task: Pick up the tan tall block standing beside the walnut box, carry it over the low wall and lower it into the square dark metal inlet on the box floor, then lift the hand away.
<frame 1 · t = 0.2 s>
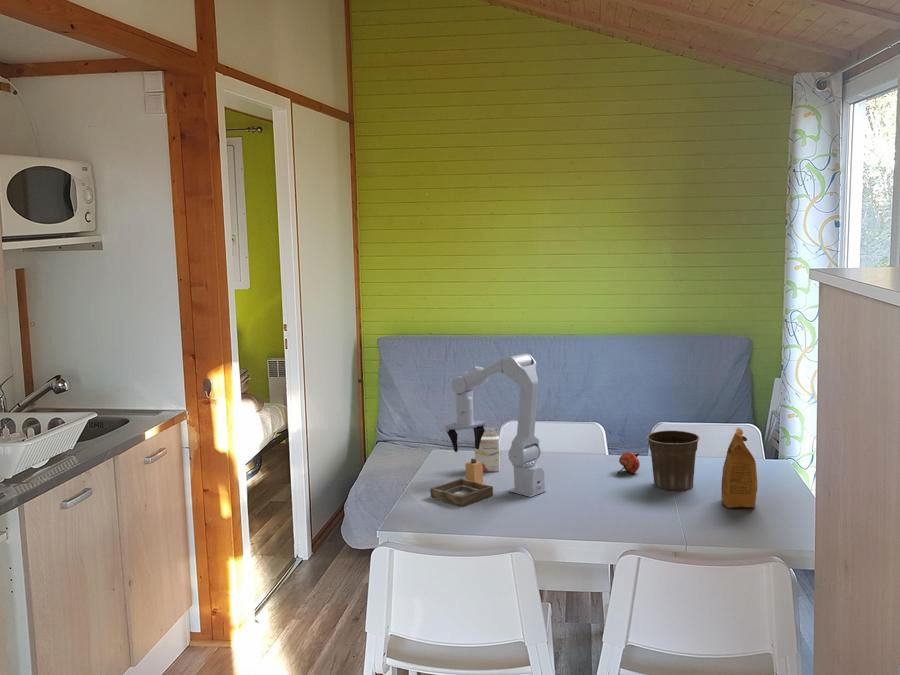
hand: (466, 449, 289), 10 cm above the table, tool pointing down, fingers open, 7 cm apart
plant pot: (673, 486, 273), on the table
ink cartridge box: (488, 470, 299), on the table
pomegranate: (628, 473, 289), on the table
walled box: (461, 496, 270), on the table
coffee package: (738, 503, 254), on the table
tan tall block: (474, 483, 284), on the table
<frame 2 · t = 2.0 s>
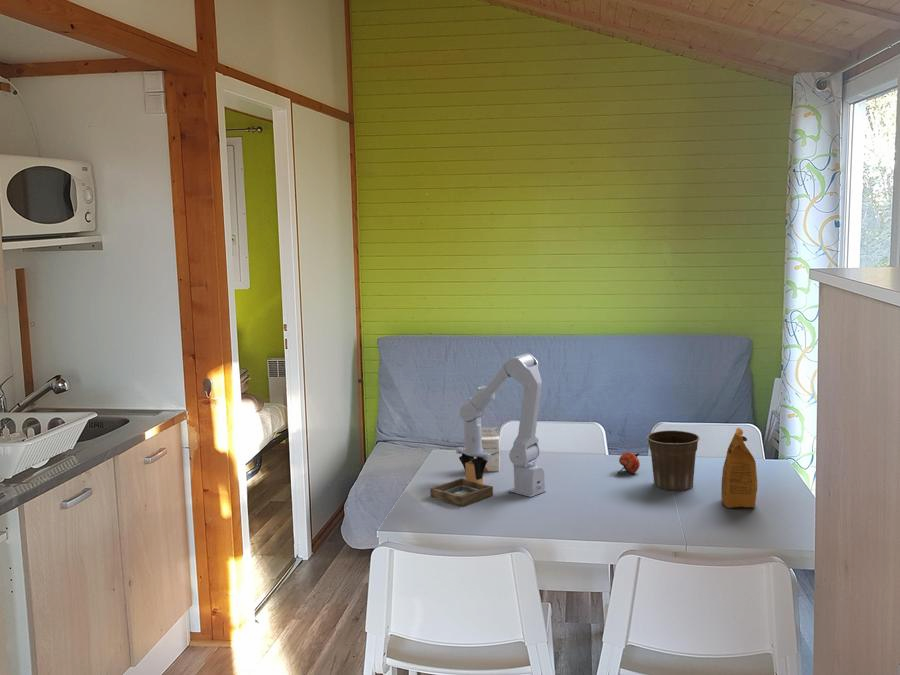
hand: (474, 477, 284), 2 cm above the table, tool pointing down, fingers closed on tan tall block, 4 cm apart
tan tall block: (474, 482, 284), on the table, touching gripper
everything else where it was.
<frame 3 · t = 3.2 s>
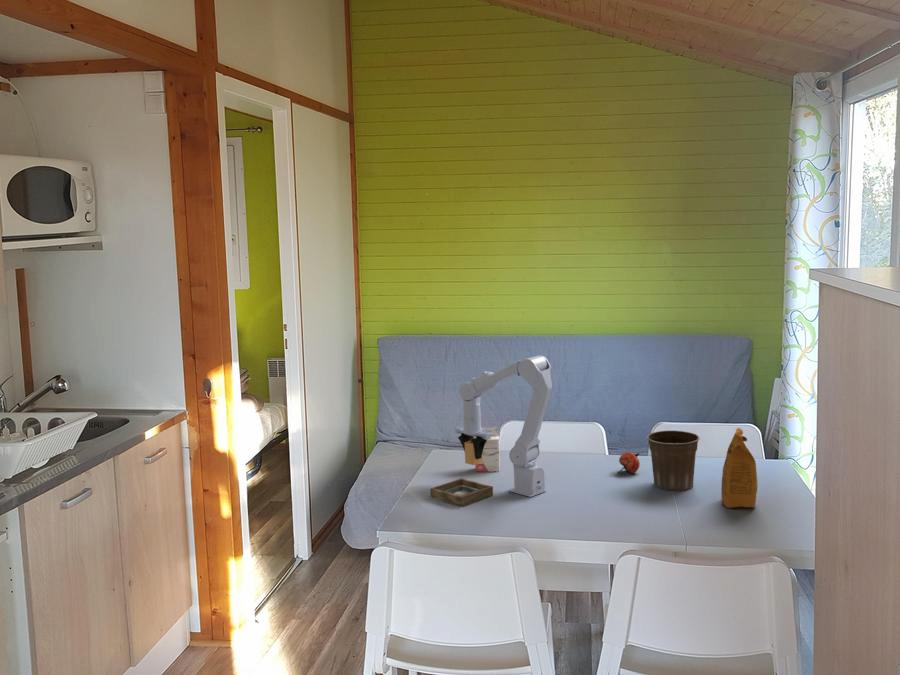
hand: (473, 457, 283), 9 cm above the table, tool pointing down, fingers closed on tan tall block, 4 cm apart
tan tall block: (473, 462, 283), point 7 cm above the table, touching gripper
everything else where it was.
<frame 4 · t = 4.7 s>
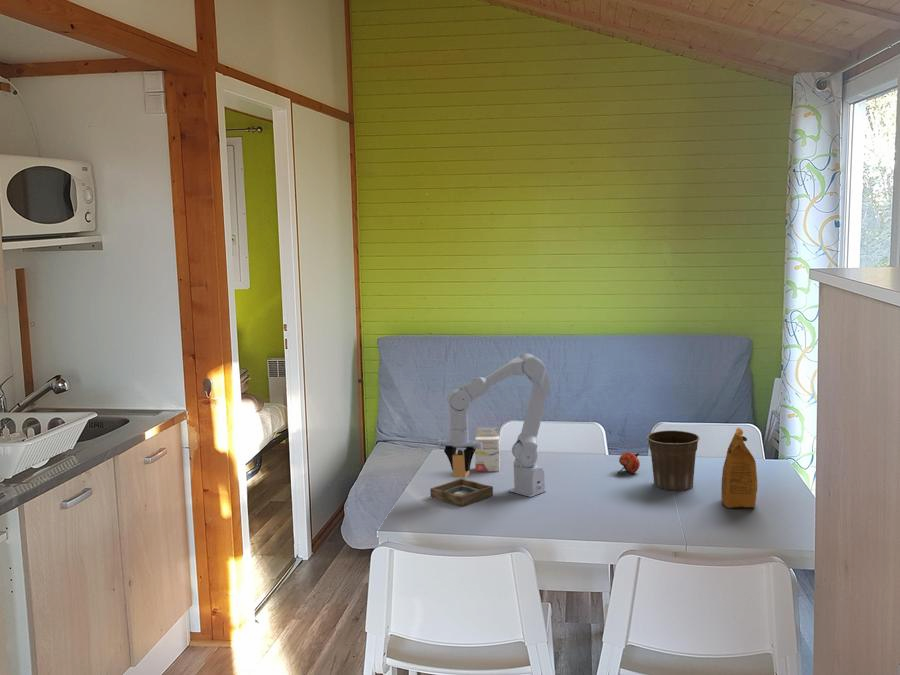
hand: (460, 469, 269), 9 cm above the table, tool pointing down, fingers closed on tan tall block, 4 cm apart
tan tall block: (461, 475, 269), point 7 cm above the table, touching gripper
everything else where it was.
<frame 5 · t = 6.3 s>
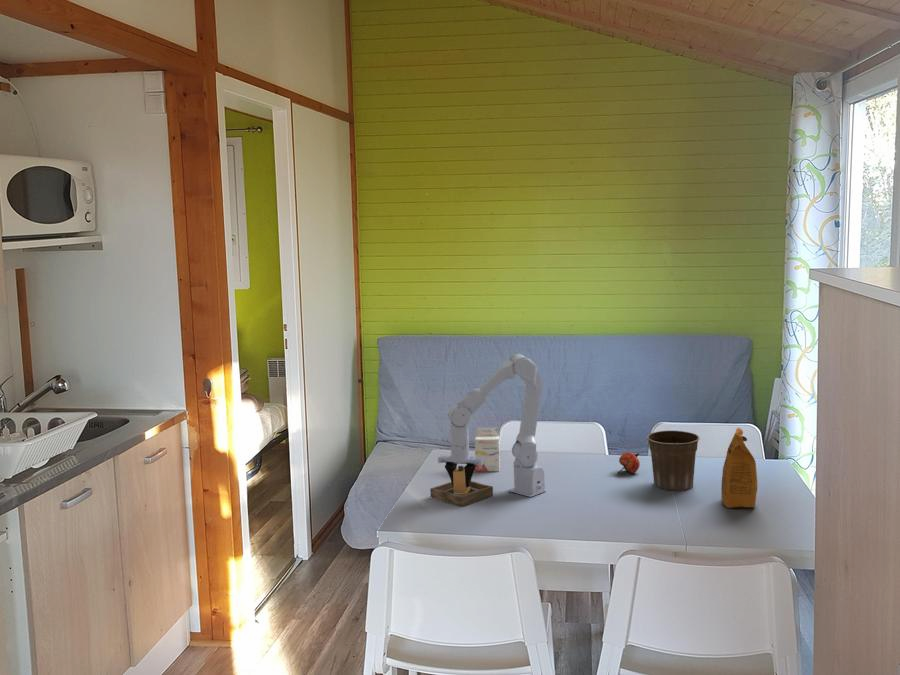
hand: (461, 485, 270), 4 cm above the table, tool pointing down, fingers closed on tan tall block, 4 cm apart
tan tall block: (461, 491, 270), point 2 cm above the table, touching gripper
everything else where it was.
when the fingers open (3 cm above the table, at t = 7.5 s): tan tall block stays where it is, resting on walled box.
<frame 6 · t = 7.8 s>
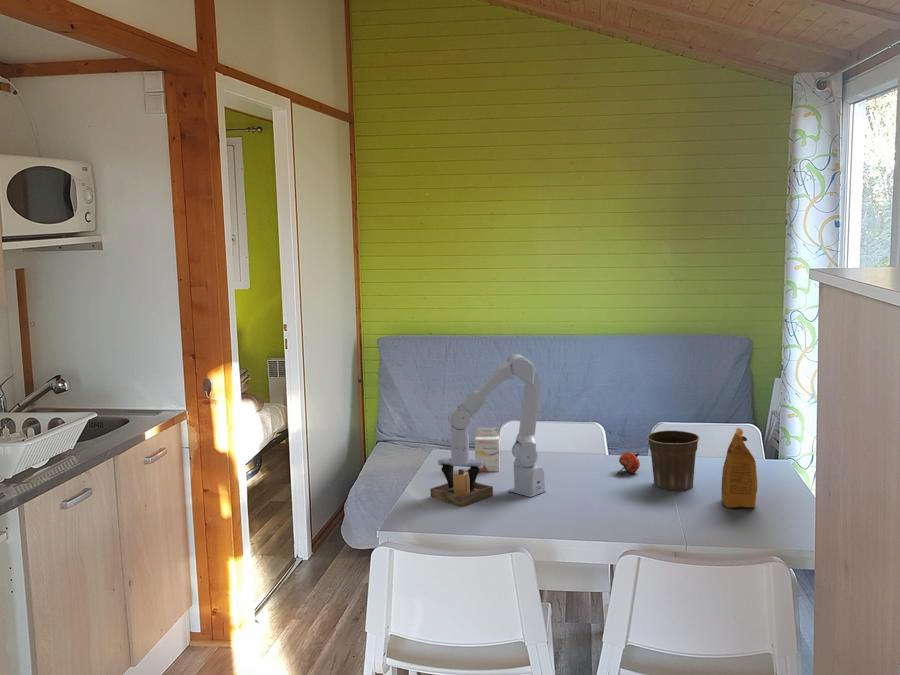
hand: (461, 488, 270), 3 cm above the table, tool pointing down, fingers open, 6 cm apart
tan tall block: (462, 494, 270), resting on walled box
everything else where it was.
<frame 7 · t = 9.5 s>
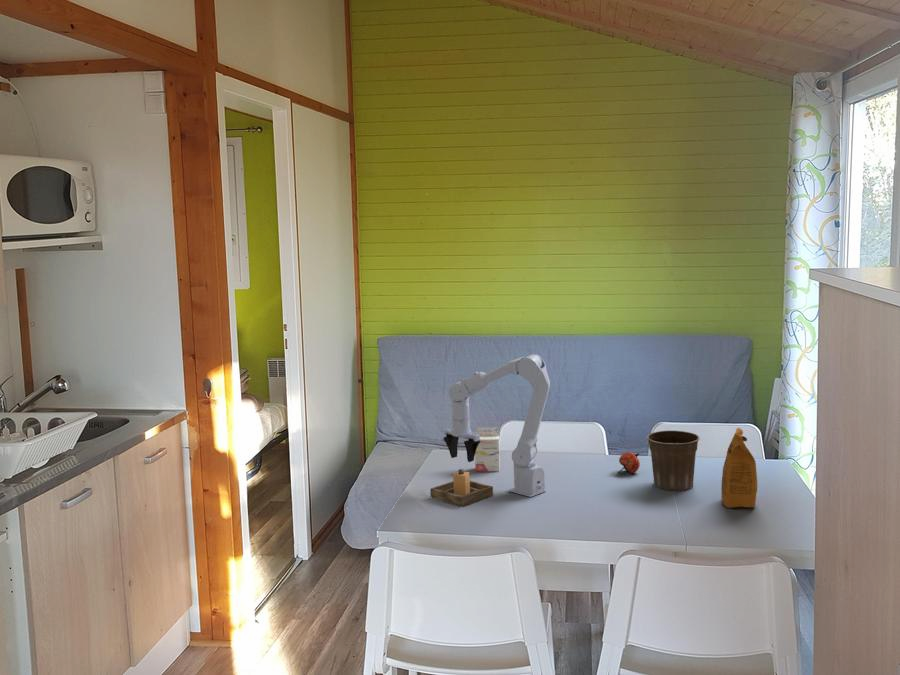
hand: (462, 459, 279), 9 cm above the table, tool pointing down, fingers open, 7 cm apart
nothing on the table moved.
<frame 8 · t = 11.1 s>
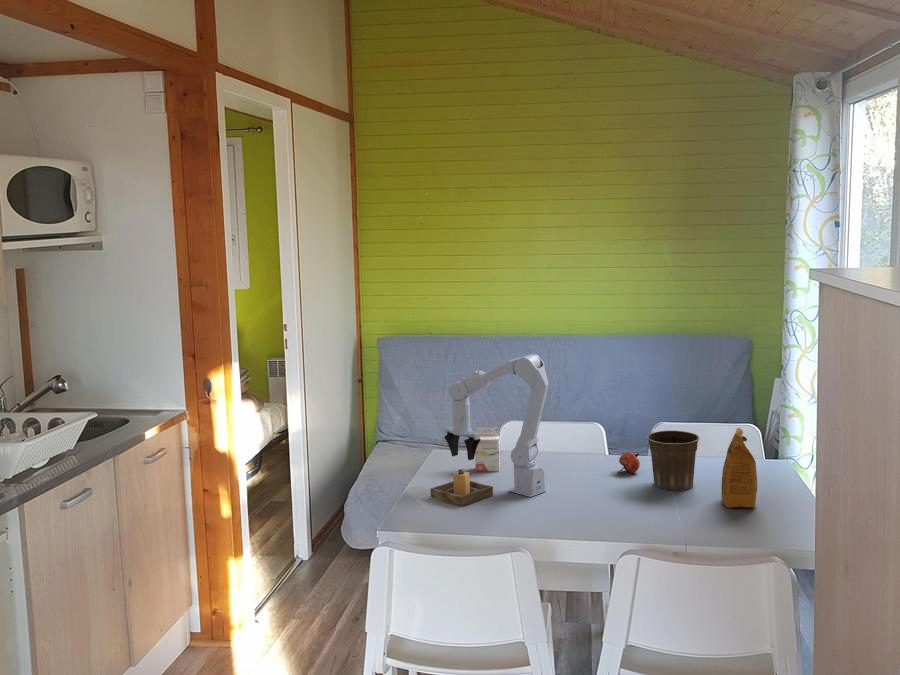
hand: (462, 457, 281), 9 cm above the table, tool pointing down, fingers open, 7 cm apart
nothing on the table moved.
at the end: tan tall block 0.2 cm off-centre on the walled box, point 0.5 cm above the walled box's base; tan tall block tilted 0°; the gripper is holding nothing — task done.
